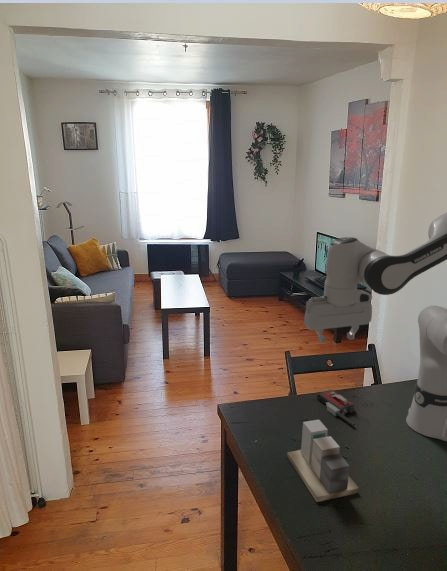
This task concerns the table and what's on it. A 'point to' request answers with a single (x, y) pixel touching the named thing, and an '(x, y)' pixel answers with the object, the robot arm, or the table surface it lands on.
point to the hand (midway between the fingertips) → (336, 340)
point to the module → (311, 437)
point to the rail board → (315, 481)
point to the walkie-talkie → (336, 404)
